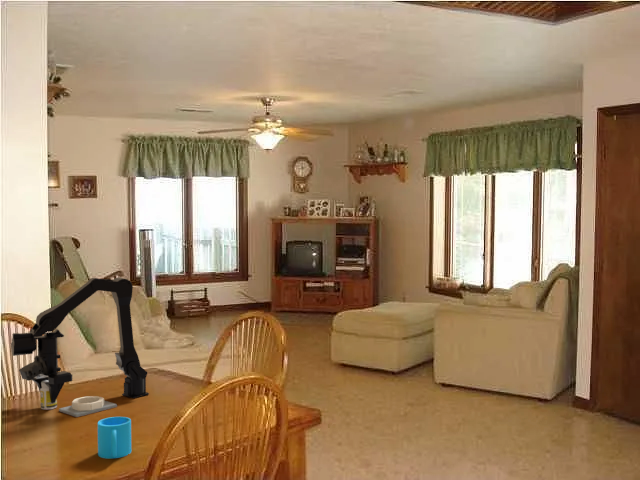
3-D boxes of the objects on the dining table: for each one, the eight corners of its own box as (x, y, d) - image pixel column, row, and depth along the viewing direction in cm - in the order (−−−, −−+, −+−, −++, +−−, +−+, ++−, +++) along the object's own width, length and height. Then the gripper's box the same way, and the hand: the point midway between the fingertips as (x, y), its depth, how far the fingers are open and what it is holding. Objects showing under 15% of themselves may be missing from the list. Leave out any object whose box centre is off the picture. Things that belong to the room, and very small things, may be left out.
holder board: (98, 401, 222) (98, 392, 222) (117, 406, 216) (116, 397, 216) (59, 411, 212) (58, 402, 212) (76, 417, 205) (76, 407, 205)
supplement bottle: (59, 405, 218) (59, 379, 217) (52, 410, 213) (51, 383, 213) (45, 405, 218) (44, 379, 218) (37, 409, 213) (37, 383, 213)
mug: (98, 449, 177) (98, 418, 177) (131, 446, 180) (131, 415, 179) (96, 465, 166) (95, 432, 166) (131, 462, 168) (130, 429, 168)
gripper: (7, 352, 214) (9, 401, 215) (38, 360, 203) (39, 412, 203) (41, 347, 223) (42, 394, 224) (72, 354, 211) (73, 404, 212)
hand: (48, 401), depth 215 cm, fingers closed on supplement bottle, 5 cm apart
